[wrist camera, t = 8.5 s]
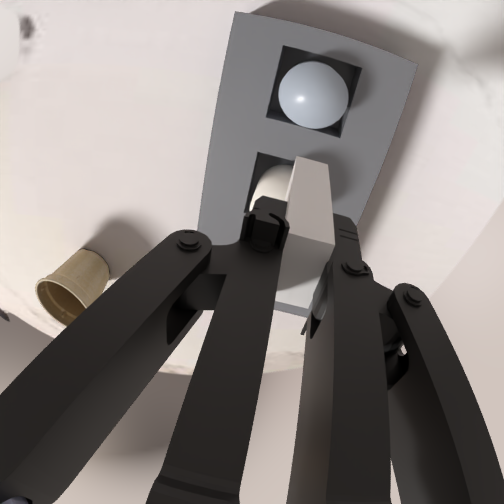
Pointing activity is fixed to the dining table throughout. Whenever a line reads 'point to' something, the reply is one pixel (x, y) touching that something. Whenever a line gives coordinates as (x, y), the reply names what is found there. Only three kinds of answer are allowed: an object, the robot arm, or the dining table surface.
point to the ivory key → (273, 183)
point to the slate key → (313, 94)
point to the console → (288, 132)
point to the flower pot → (73, 286)
